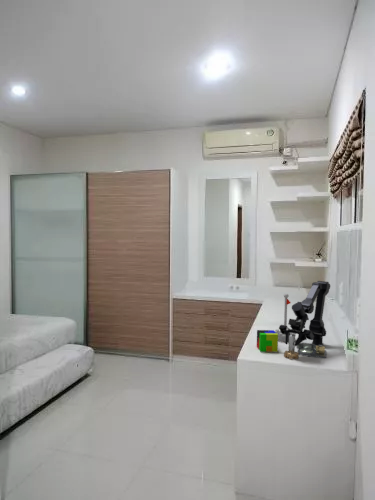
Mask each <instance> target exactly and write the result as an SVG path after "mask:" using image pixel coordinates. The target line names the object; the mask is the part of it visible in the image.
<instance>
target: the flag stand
mask: <svg viewBox="0 0 375 500" xmlns="http://www.w3.org/2000/svg"><path fill="white" fill-rule="evenodd" d="M283 297H284V314H283V315H284V316H283V317H284V318H283V325H286V326H287V327H288V323H287V322H288V305H289V304H291V303H292V302H291V301H290V300H289V298H288V297H289V294H288V293H284V294H283ZM274 331H275V332H276V333H277V334H278V342H281V343H285V342H286V334H282V333H281V331H280V329H279V328H278V329H275V330H274ZM290 335H295V337H296V335H297V334H295V333H290Z"/></svg>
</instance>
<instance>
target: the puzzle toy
mask: <svg viewBox="0 0 375 500" xmlns="http://www.w3.org/2000/svg"><path fill="white" fill-rule="evenodd" d="M256 348H257V349H258V351H260V353H261V352H263V353H266V352H270V353H272V352H273V353H275V352H277V353H278V352H279V351H278V348H279V341H278V334H277V333H276V332H275V330H274V329H273V330H272V329H271V330H270V329H267V330H266V329H257V330H256Z"/></svg>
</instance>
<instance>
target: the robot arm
mask: <svg viewBox="0 0 375 500" xmlns="http://www.w3.org/2000/svg"><path fill="white" fill-rule="evenodd" d="M330 289H331V284H330V282H329V281H325V280H324V281H323V280H317V281H315V282H314V281H313V282H312V284H311V287H310V289H309V292H308V294H307V295H306V297H305V298H304V299H303V300H301V301H297V302H295V303H294V304H293V305H291V311H293V313H294V316H295V317H296V318H295V319H294V318H289V319H288V323H287V326H286V325H284V324H280V325H279V327H278V330H279V331H281V333H282V334H286V342H284V343H285V344H286V345H288V344H289V335H290V333H295V334H296V335H298V336H297V338H296V339H295V347H297V345H298V344H300V343H303V342H304V341H308V340H309V341H311V344H314V345H322V346H324V342H323V338H324V337H326V336H327V330H326V328H325V323H324V320H323V315H324V308H325V301H326V296H327V295H328V294H329V292H330ZM315 300H316V301H315ZM315 302H316V303H315ZM314 303H315V306H314ZM313 312H314V316H313V318H312V319H311V320H309V319H310V318H309V315H310V314H311V315H312V313H313ZM307 321H309V326H308V329H307V328H306V323H307ZM288 325H289V327H288ZM305 328H306V329H305Z"/></svg>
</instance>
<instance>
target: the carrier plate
mask: <svg viewBox="0 0 375 500" xmlns="http://www.w3.org/2000/svg"><path fill="white" fill-rule="evenodd" d="M296 349H297V352H298V353H299V356H304V357H305V356H307V357H312V358H321V359H326V357H327V350H326V347H325V345H323V346H322V345H314V344H312V343H310V342H309V343H308V342H301V343H300V344H298V345H297V346H296Z"/></svg>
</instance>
